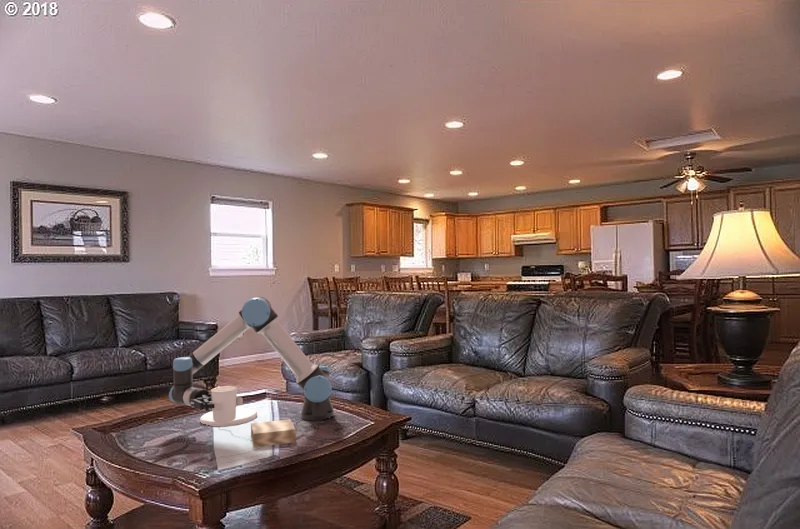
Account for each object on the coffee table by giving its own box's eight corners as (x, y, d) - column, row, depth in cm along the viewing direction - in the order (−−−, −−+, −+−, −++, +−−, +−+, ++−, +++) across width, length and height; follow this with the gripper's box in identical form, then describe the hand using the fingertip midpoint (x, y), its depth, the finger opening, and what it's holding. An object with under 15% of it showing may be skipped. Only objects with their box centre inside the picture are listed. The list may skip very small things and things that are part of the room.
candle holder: (229, 423, 209) (228, 391, 209) (206, 422, 210) (205, 391, 211) (242, 416, 218) (241, 386, 218) (219, 415, 220) (219, 386, 220)
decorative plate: (231, 401, 270) (267, 407, 257) (231, 410, 270) (267, 416, 257) (187, 413, 249) (225, 420, 236) (188, 422, 249) (225, 430, 236)
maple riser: (290, 431, 230) (290, 419, 230) (295, 442, 215) (295, 429, 215) (251, 435, 225) (250, 423, 225) (253, 447, 210) (253, 433, 210)
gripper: (220, 401, 234) (254, 407, 220) (172, 412, 216) (207, 420, 203) (219, 383, 234) (253, 389, 221) (172, 393, 216) (206, 400, 203)
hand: (231, 404), depth 212 cm, fingers closed on candle holder, 9 cm apart
